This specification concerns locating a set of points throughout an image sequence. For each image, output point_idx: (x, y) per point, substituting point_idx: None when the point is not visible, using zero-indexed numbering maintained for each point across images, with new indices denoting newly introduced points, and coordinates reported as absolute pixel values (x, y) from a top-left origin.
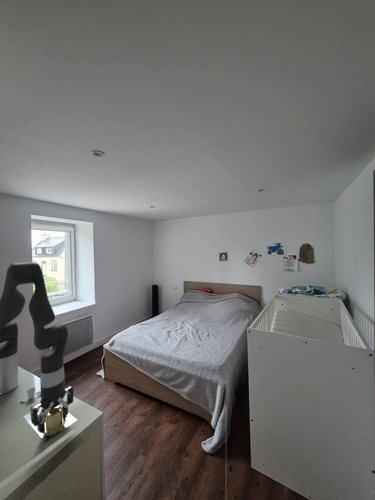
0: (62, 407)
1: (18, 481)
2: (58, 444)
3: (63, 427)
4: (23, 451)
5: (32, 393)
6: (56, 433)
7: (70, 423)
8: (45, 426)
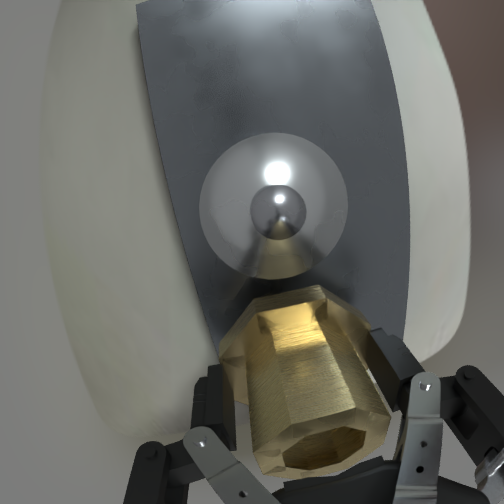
0: (400, 384)
1: (136, 430)
2: None
3: None
4: (130, 330)
5: None
6: None
7: None
8: (245, 355)
